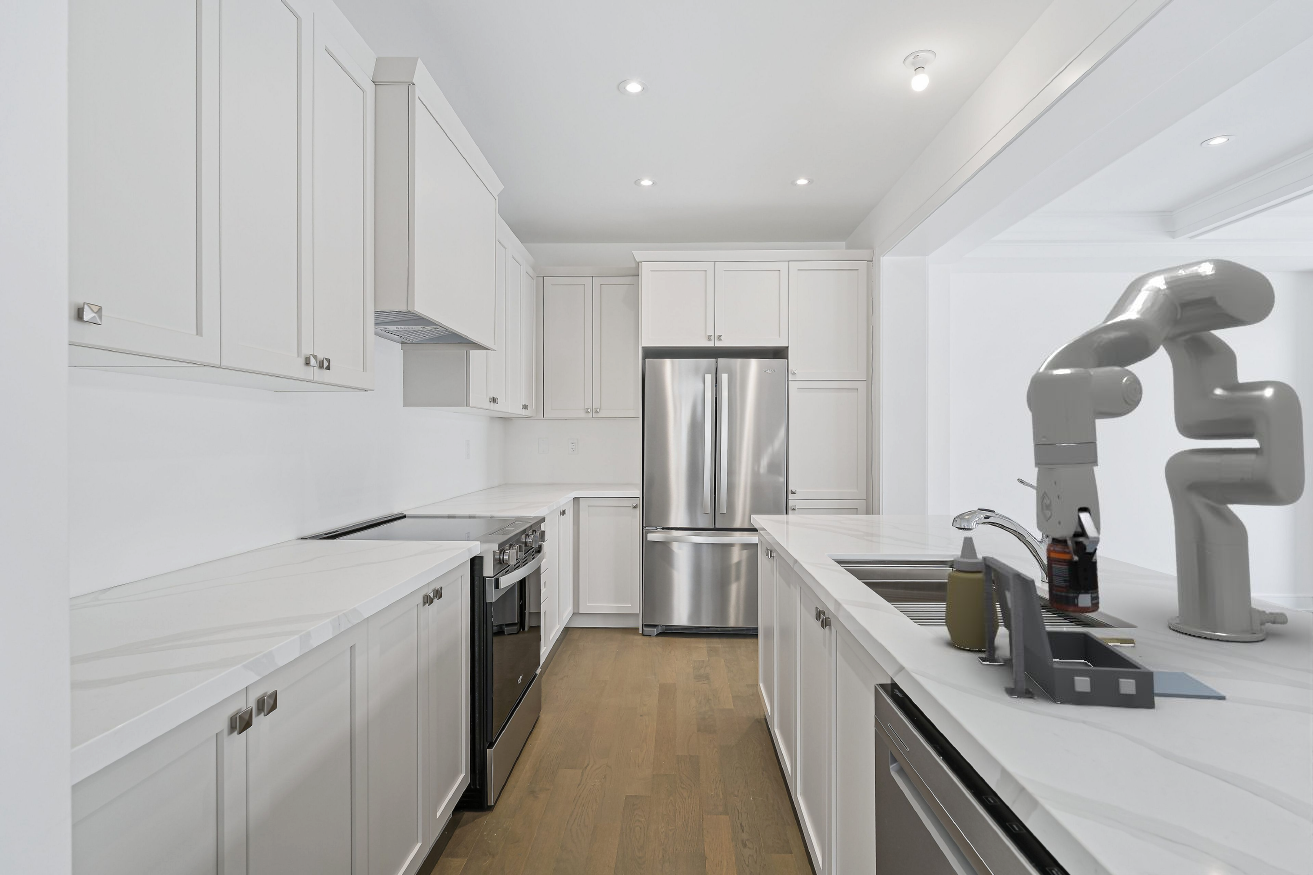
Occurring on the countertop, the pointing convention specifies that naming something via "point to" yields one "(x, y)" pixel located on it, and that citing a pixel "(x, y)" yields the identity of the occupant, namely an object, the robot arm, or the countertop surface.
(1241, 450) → the robot arm
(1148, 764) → the countertop surface
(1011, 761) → the countertop surface
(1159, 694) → the mat
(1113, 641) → the rod
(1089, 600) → the supplement bottle
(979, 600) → the squeeze bottle
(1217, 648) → the countertop surface
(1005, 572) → the stay bracket
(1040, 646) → the lid
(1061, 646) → the case
